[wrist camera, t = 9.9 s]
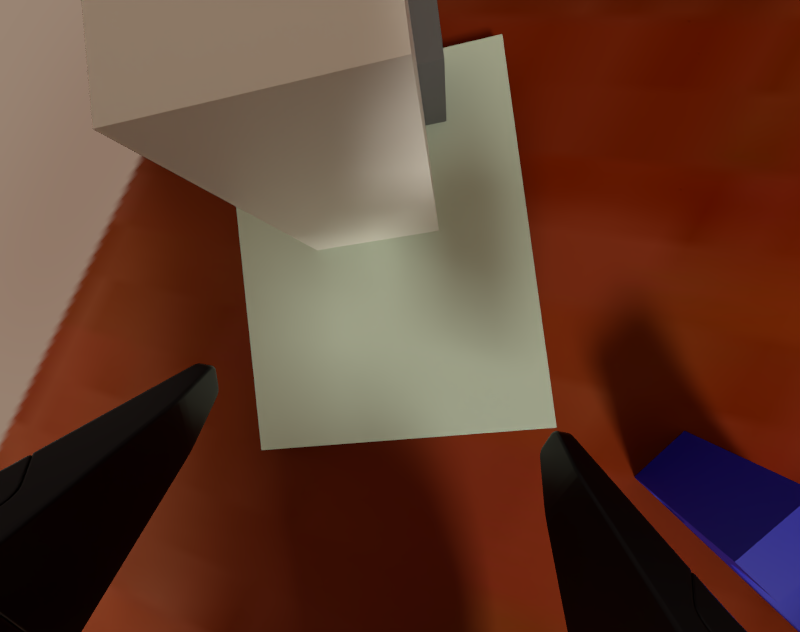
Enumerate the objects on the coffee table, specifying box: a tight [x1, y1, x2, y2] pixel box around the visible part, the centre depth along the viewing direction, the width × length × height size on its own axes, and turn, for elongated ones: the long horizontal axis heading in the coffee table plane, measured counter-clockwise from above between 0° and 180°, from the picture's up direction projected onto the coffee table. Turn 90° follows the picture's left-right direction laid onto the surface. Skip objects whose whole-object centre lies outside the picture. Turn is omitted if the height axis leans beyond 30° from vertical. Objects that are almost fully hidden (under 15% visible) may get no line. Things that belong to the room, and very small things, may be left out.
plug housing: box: [81, 0, 439, 250], centre depth 12 cm, size 5×6×11 cm
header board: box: [236, 0, 556, 450], centre depth 16 cm, size 18×14×5 cm
